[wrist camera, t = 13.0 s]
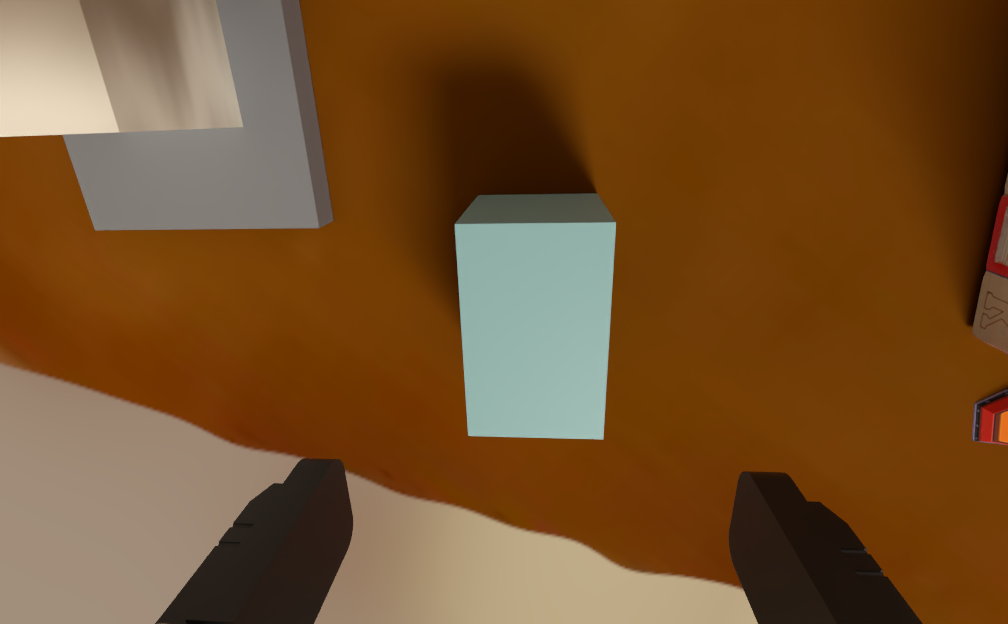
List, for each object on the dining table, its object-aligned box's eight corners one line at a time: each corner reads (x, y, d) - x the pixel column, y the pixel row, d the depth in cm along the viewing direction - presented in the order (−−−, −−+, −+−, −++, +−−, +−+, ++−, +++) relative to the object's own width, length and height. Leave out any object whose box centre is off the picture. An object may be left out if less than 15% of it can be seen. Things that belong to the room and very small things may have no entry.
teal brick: (478, 194, 21) (454, 224, 15) (596, 193, 21) (616, 222, 15) (485, 361, 24) (468, 436, 18) (589, 362, 24) (603, 439, 18)
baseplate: (-28, -249, 17) (-80, -282, 15) (255, -276, 16) (227, -314, 14) (122, 223, 23) (95, 230, 21) (333, 220, 22) (319, 227, 20)
